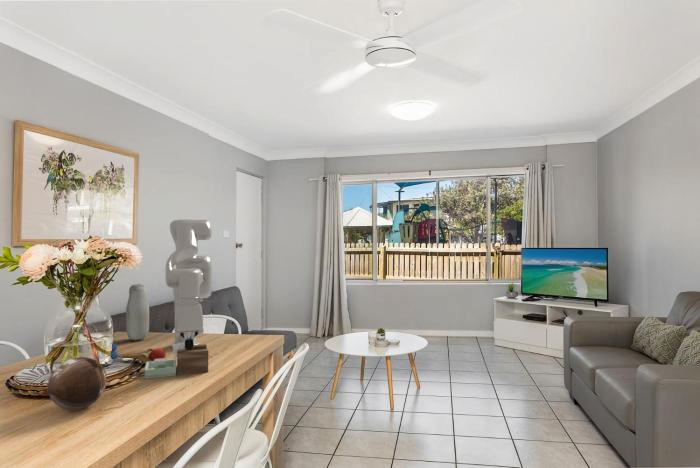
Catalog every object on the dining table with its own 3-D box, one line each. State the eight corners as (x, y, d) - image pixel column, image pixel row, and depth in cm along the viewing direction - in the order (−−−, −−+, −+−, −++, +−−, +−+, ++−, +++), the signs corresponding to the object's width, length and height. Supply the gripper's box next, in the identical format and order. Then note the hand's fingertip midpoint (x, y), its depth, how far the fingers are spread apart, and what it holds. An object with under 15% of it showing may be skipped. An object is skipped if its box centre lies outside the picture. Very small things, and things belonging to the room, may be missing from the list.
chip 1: (165, 368, 171) (154, 369, 169) (165, 358, 171) (154, 359, 169) (165, 371, 167) (154, 372, 166) (165, 360, 167) (154, 361, 166)
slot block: (177, 366, 176) (177, 346, 176) (206, 363, 180) (206, 343, 180) (177, 375, 165) (177, 353, 165) (208, 371, 169) (208, 350, 169)
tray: (146, 369, 172) (146, 361, 172) (175, 366, 176) (175, 359, 176) (144, 378, 161) (144, 370, 161) (176, 375, 165) (176, 367, 165)
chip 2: (174, 354, 172) (172, 344, 171) (185, 351, 173) (183, 341, 173) (174, 357, 168) (172, 347, 168) (185, 354, 169) (183, 344, 169)
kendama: (117, 368, 179) (158, 363, 177) (117, 352, 180) (158, 347, 178) (129, 366, 187) (169, 361, 184) (129, 350, 188) (168, 346, 185)
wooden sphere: (34, 415, 128) (35, 363, 128) (79, 397, 142) (79, 350, 143) (76, 420, 124) (76, 366, 124) (117, 401, 138) (117, 353, 139)
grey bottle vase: (137, 337, 229) (137, 282, 229) (153, 338, 225) (153, 283, 226) (121, 341, 219) (121, 284, 220) (137, 342, 216) (137, 285, 216)
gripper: (208, 299, 178) (208, 345, 178) (168, 301, 173) (168, 349, 172) (210, 301, 172) (210, 349, 171) (168, 304, 166) (168, 353, 165)
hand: (189, 349), depth 172 cm, fingers closed
